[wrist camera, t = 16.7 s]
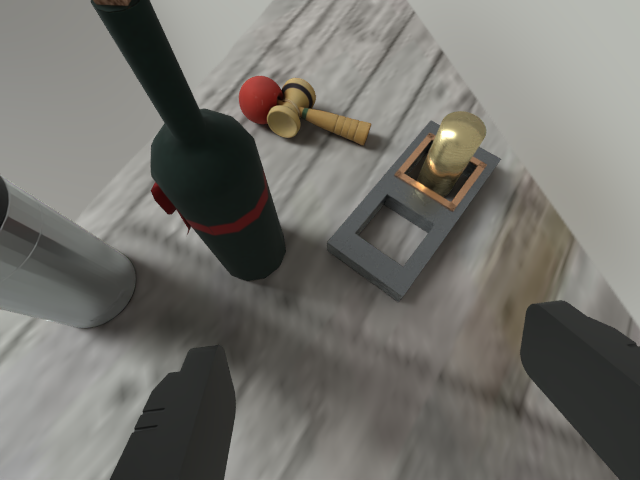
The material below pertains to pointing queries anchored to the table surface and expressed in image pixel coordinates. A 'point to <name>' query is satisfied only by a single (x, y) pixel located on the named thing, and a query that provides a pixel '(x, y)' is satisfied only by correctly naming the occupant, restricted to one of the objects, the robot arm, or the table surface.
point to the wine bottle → (199, 152)
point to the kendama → (293, 109)
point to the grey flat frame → (407, 216)
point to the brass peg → (451, 151)
